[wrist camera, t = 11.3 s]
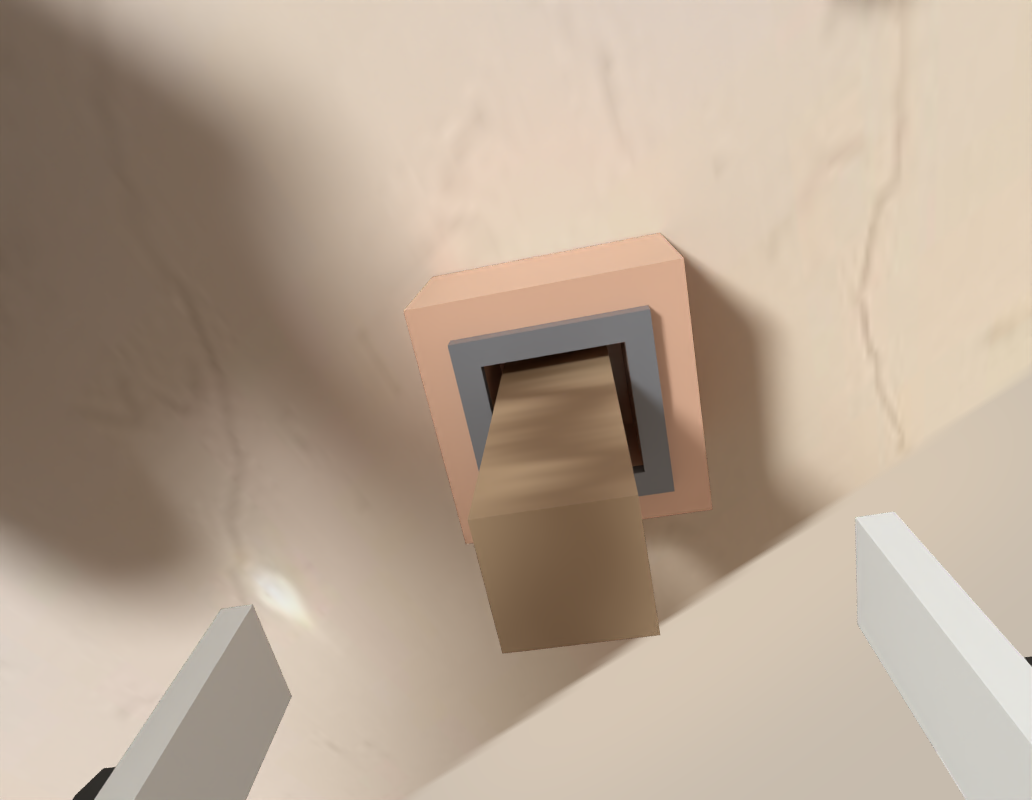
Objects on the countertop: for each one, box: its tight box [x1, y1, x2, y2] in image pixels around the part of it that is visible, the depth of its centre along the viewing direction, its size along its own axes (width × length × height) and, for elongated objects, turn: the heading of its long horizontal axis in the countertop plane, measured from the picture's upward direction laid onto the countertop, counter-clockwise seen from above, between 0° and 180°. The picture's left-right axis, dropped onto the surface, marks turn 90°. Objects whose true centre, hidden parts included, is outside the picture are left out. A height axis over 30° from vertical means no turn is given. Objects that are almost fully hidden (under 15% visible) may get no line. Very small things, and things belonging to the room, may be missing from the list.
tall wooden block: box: [468, 345, 660, 653], centre depth 23 cm, size 4×4×14 cm
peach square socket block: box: [404, 233, 712, 544], centre depth 28 cm, size 10×10×7 cm
